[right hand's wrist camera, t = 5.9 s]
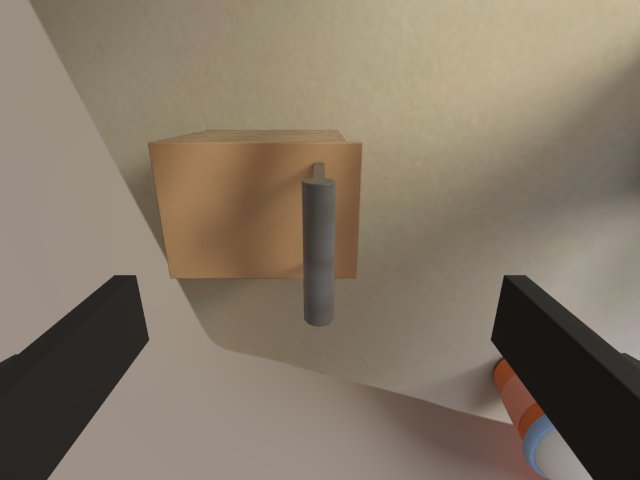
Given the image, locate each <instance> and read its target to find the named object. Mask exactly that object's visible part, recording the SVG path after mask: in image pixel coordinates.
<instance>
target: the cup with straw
mask: <svg viewBox="0 0 640 480" xmlns="http://www.w3.org/2000/svg"><path fill="white" fill-rule="evenodd" d="M494 381H495V383H496V386H497V388H498V390H499V392H500V394H501V396H502V401H503V404H504V406H505V408H506V410H507V412H508V414H509V416H510V418H511V420H512V422H513V424H514V426H515V428H516V431H517V433H518V435H519V437H520V438H521V440H522V441H523V445H522V447H523V453H524V456H525V458H526V460H527V462H528V464H529V465H530V466H531V467H532V469H534V470H535V471H536V472H537V473H538V474H540V475H541V476H543V477H545V478H548V479H551V480H593V479H592V478H591V476H590V475H589V473H588V472H587V471H586V469H585V468H584V467H583V465H582V464H581V463H580V461H579V460H578V458H577V457H576V456H575V454H574V453H573V452H572V450H571V449H570V448H569V446H568V445H567V443H566V442H565V441H564V439H563V438H562V437H561V435H560V434H559V432H558V431H557V430H556V428H555V427H554V426H553V424H552V423H551V422H550V420H549V419H548V417H547V416H546V415H545V413H544V412H543V411H542V409H541V408H540V406H539V405H538V404H537V402H536V401H535V400H534V398H533V397H532V396H531V394H530V393H529V391H528V390H527V389H526V387H525V386H524V385H523V383H522V382H521V381H520V379H519V378H518V376H517V375H516V374H515V372H514V371H513V370H512V368H511V367H510V365H509V364H508V363H507V361H506V360H505V359H503V360H502V361H501V362H500V363H499V364H498V365H497V367H496V369H495V371H494Z"/></svg>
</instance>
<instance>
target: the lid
mask: <svg viewBox="0 0 640 480" xmlns="http://www.w3.org/2000/svg"><path fill="white" fill-rule="evenodd" d="M148 146H149V152H150V158H151V164H152V170H153V176H154V183H155V189H156V195H157V201H158V207H159V213H160V219H161V225H162V231H163V237H164V243H165V249H166V255H167V261H168V267H169V273H170V278H303V280H304V319H305V321H306V322H307V323H308V324H310V325H313V326H325V325H328V324H330V323H331V322H332V321H333V319H334V278H357V257H358V232H359V208H360V184H361V160H362V143H361V142H360V141H155V142H150V143H148Z"/></svg>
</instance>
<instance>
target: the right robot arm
mask: <svg viewBox="0 0 640 480" xmlns="http://www.w3.org/2000/svg"><path fill="white" fill-rule="evenodd" d="M148 341H149V337H148V332H147V327H146V322H145V317H144V312H143V307H142V303H141V298H140V293H139V288H138V283H137V278H136V275H115V276H113V277H112V278H111V279H109V280H108V281H107V282H106V283H105V284H103V285H102V286H101V287H100V288H98V289H97V290H96V291H95V292H94V293H92V294H91V295H90V296H89V297H88V298H86V299H85V300H84V301H83V302H81V303H80V304H79V305H78V306H77V307H75V308H74V309H73V310H72V311H71V312H69V313H68V314H67V315H66V316H64V317H63V318H62V319H61V320H60V321H58V322H57V323H56V324H55V325H53V326H52V327H51V328H50V329H49V330H47V331H46V332H45V333H44V334H43V335H41V336H40V337H39V338H38V339H36V340H35V341H34V342H33V343H32V344H30V345H29V346H28V347H27V348H26V349H24V350H23V351H22V352H21V353H19V354H18V355H13V356H11V357H9V358H8V359H6V360H4V361H2V362H0V480H47V479H48V477H49V476H50V475H51V473H52V472H53V471H54V469H55V468H56V467H57V465H58V464H59V462H60V461H61V460H62V458H63V457H64V456H65V454H66V453H67V452H68V450H69V449H70V448H71V446H72V445H73V443H74V442H75V441H76V439H77V438H78V437H79V435H80V434H81V432H82V431H83V430H84V428H85V427H86V426H87V424H88V423H89V422H90V420H91V419H92V417H93V416H94V415H95V413H96V412H97V411H98V409H99V408H100V406H101V405H102V404H103V402H104V401H105V400H106V398H107V397H108V396H109V394H110V393H111V391H112V390H113V389H114V387H115V386H116V385H117V383H118V382H119V381H120V379H121V378H122V376H123V375H124V374H125V372H126V371H127V370H128V368H129V367H130V365H131V364H132V363H133V361H134V360H135V359H136V357H137V356H138V355H139V353H140V352H141V350H142V349H143V348H144V346H145V345H146V344H147V342H148ZM491 341H492V342H493V344H494V345H495V346H496V348H497V349H498V350H499V352H500V353H501V355H502V356H503V357H504V359H505V360H506V361H507V363H508V364H509V365H510V367H511V368H512V370H513V371H514V372H515V374H516V375H517V376H518V378H519V379H520V381H521V382H522V383H523V385H524V386H525V387H526V389H527V390H528V391H529V393H530V394H531V396H532V397H533V398H534V400H535V401H536V402H537V404H538V405H539V406H540V408H541V409H542V411H543V412H544V413H545V415H546V416H547V417H548V419H549V420H550V422H551V423H552V424H553V426H554V427H555V428H556V430H557V431H558V432H559V434H560V435H561V437H562V438H563V439H564V441H565V442H566V443H567V445H568V446H569V448H570V449H571V450H572V452H573V453H574V454H575V456H576V457H577V458H578V460H579V461H580V463H581V464H582V465H583V467H584V468H585V469H586V471H587V472H588V473H589V475H590V476H591V478H592V479H593V480H640V361H639V360H637V359H635V358H633V357H631V356H630V355H628V354H626V353H619V352H618V351H617V350H616V349H614V348H613V347H612V346H611V345H610V344H608V343H607V342H606V341H605V340H604V339H602V338H601V337H600V336H599V335H597V334H596V333H595V332H594V331H593V330H591V329H590V328H589V327H588V326H587V325H585V324H584V323H583V322H582V321H580V320H579V319H578V318H577V317H576V316H574V315H573V314H572V313H571V312H569V311H568V310H567V309H566V308H565V307H563V306H562V305H561V304H560V303H559V302H557V301H556V300H555V299H554V298H552V297H551V296H550V295H549V294H548V293H546V292H545V291H544V290H543V289H542V288H540V287H539V286H538V285H537V284H535V283H534V282H533V281H532V280H531V279H529V278H528V277H527V276H526V275H504V278H503V283H502V288H501V293H500V298H499V302H498V307H497V312H496V317H495V322H494V327H493V332H492V337H491Z"/></svg>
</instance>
